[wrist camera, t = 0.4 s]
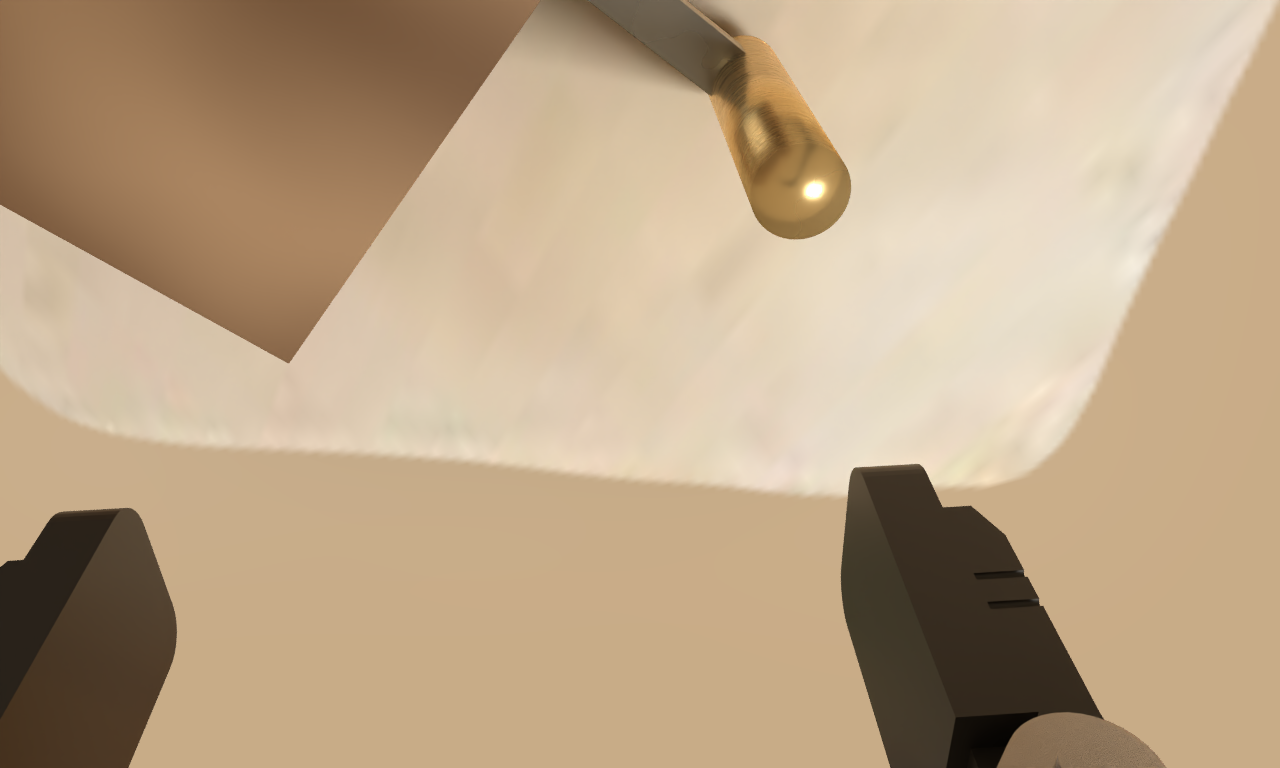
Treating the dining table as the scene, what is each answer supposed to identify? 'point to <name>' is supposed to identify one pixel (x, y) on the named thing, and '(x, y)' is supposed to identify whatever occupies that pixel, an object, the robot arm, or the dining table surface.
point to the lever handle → (749, 114)
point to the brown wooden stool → (234, 136)
